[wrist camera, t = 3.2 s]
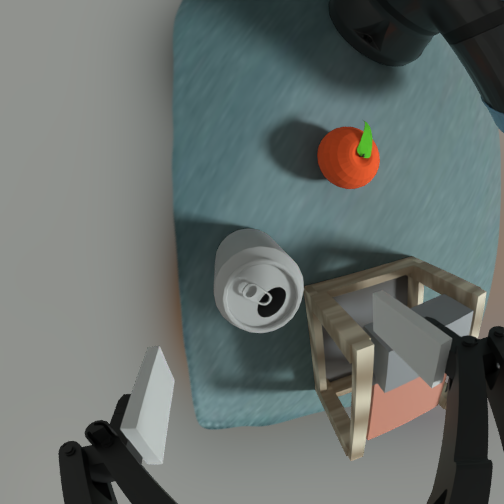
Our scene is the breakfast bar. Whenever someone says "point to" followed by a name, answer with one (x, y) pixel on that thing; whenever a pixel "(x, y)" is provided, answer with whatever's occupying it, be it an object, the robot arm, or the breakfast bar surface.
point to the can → (256, 282)
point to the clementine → (348, 157)
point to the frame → (359, 342)
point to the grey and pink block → (408, 371)
